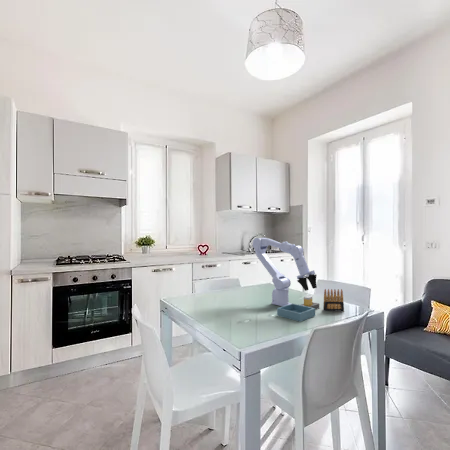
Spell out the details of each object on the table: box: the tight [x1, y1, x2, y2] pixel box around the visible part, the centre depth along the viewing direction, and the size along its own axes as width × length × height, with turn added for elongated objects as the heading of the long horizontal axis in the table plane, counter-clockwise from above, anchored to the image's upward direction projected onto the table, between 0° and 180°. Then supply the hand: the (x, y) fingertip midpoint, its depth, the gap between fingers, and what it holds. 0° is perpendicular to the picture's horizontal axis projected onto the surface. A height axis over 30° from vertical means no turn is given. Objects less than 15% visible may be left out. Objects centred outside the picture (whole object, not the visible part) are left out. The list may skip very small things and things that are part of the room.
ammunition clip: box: [323, 288, 345, 312], centre depth 160 cm, size 11×2×12 cm, turn 85°
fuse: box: [303, 295, 313, 306], centre depth 163 cm, size 3×4×7 cm
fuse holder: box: [300, 301, 320, 310], centre depth 162 cm, size 6×14×3 cm, turn 133°
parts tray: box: [276, 303, 316, 323], centre depth 151 cm, size 14×14×4 cm
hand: (310, 289), depth 161 cm, fingers open, 7 cm apart
